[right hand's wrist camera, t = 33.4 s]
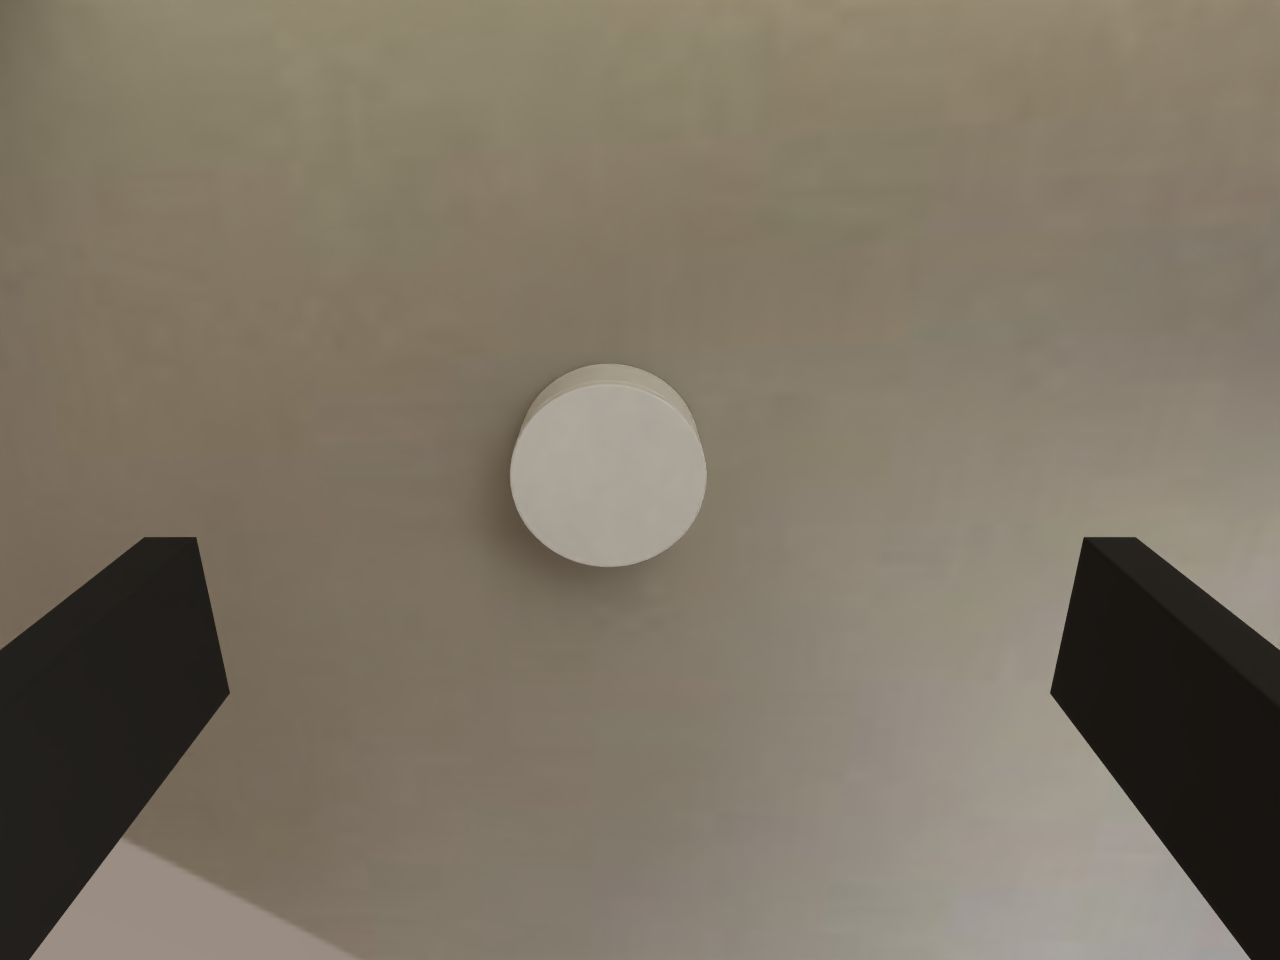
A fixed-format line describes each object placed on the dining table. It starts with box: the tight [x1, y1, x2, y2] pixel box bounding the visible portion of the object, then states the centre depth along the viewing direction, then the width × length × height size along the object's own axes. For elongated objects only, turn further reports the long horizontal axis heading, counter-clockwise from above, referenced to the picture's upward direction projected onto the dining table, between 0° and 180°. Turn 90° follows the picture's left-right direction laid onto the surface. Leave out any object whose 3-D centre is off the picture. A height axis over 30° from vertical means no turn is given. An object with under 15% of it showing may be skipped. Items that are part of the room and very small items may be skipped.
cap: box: [510, 364, 707, 567], centre depth 19 cm, size 4×4×2 cm
